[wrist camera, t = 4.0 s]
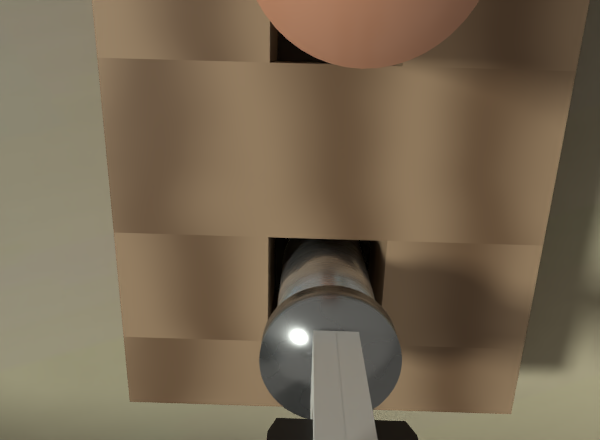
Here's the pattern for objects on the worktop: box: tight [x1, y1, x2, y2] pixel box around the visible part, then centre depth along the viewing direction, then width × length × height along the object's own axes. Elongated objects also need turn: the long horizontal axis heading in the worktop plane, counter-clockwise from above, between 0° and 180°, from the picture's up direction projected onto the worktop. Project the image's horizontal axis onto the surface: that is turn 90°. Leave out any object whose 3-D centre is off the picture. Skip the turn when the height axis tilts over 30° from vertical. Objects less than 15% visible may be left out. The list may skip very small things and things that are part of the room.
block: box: [92, 0, 590, 414], centre depth 22 cm, size 18×24×5 cm
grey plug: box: [259, 238, 402, 419], centre depth 21 cm, size 5×5×9 cm
